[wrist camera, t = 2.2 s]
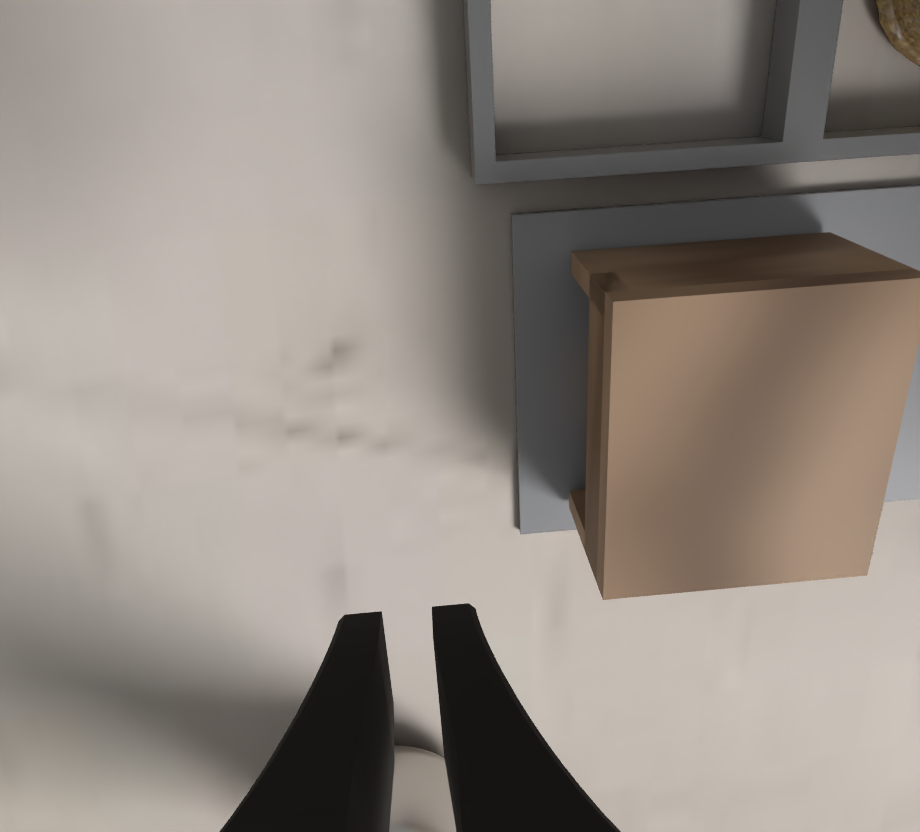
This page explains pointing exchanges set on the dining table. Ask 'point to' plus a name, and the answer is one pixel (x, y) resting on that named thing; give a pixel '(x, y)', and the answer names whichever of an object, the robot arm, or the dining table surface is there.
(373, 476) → the dining table surface
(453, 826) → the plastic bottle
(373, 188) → the dining table surface
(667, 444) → the cardboard box
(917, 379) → the board
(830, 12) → the socket frames
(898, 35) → the spice jar
